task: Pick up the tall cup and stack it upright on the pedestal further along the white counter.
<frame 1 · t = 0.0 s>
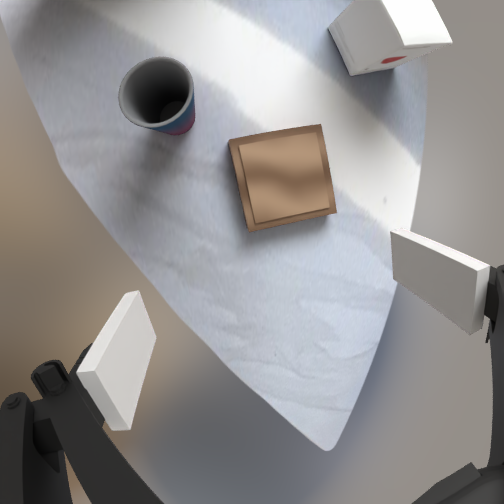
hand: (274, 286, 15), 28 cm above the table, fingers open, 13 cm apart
pedestal: (281, 175, 41), on the table
supplement box: (362, 47, 37), on the table
cup: (176, 117, 38), on the table
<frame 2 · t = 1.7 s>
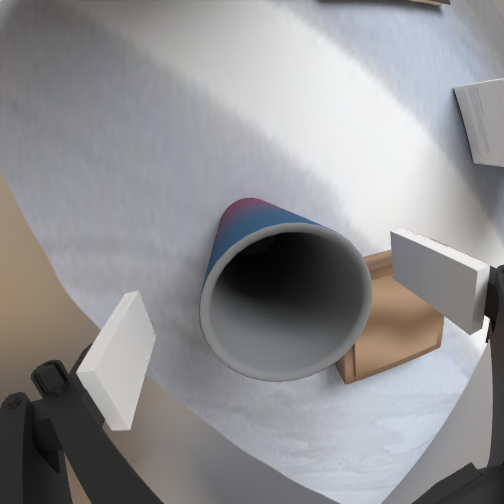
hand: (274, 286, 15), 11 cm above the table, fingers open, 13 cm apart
pedestal: (385, 306, 29), on the table
supplement box: (484, 120, 25), on the table
cup: (249, 227, 26), on the table
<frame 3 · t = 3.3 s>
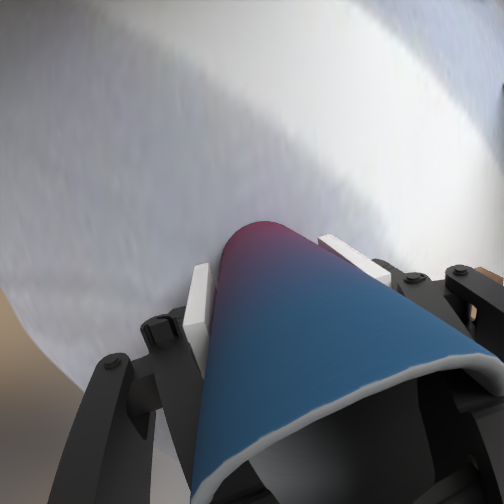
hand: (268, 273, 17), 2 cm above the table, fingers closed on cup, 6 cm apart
cup: (263, 261, 19), on the table, touching gripper
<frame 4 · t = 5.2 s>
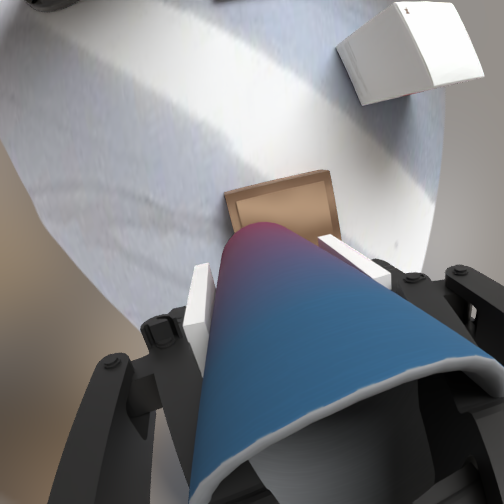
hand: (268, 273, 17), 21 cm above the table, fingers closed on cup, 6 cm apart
pedestal: (284, 228, 38), on the table
supplement box: (374, 70, 33), on the table
cup: (262, 262, 19), point 19 cm above the table, touching gripper
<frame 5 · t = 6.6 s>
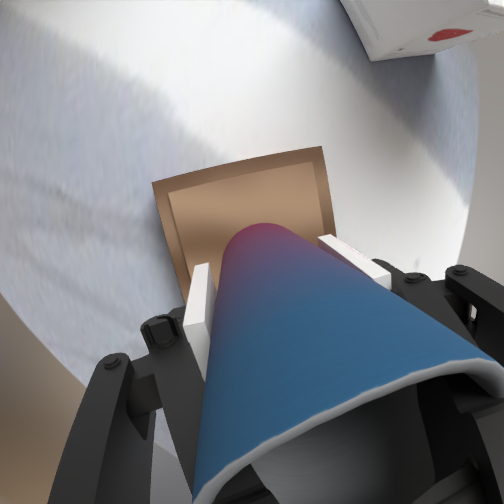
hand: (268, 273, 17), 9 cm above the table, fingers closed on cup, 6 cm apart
pedestal: (251, 236, 25), on the table
supplement box: (386, 19, 21), on the table
cup: (263, 263, 19), point 6 cm above the table, touching gripper
when the fingers open (6 cm above the table, at t = 7.4 s): cup stays where it is, resting on pedestal.
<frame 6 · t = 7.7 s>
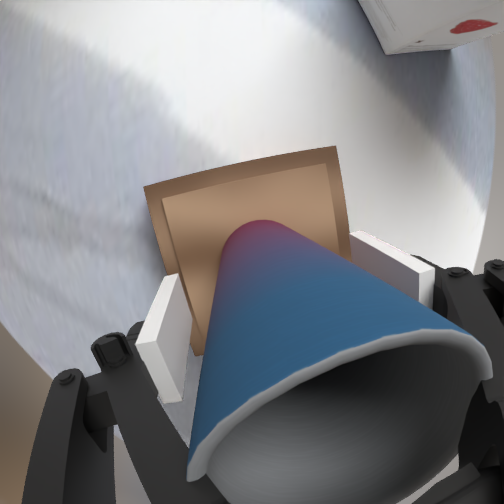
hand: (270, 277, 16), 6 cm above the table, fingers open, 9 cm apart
pedestal: (255, 246, 22), on the table
supplement box: (400, 11, 18), on the table
cup: (261, 258, 19), point 3 cm above the table, touching pedestal
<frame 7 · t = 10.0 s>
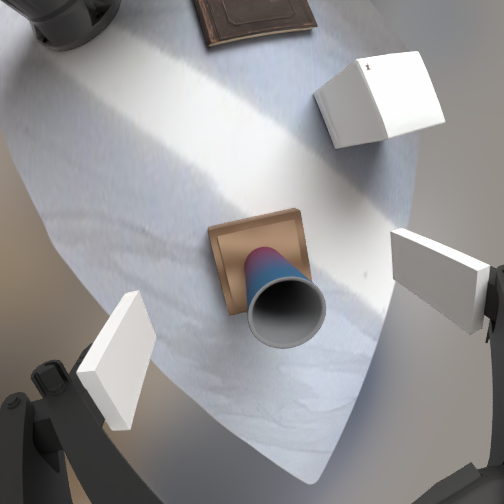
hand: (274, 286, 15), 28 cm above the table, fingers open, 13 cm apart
pedestal: (260, 258, 43), on the table
supplement box: (349, 114, 40), on the table
cup: (263, 265, 40), point 3 cm above the table, touching pedestal
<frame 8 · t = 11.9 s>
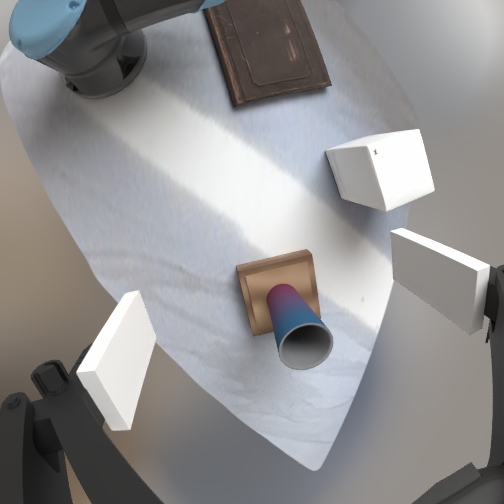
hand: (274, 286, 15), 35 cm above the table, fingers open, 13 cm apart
pedestal: (278, 290, 53), on the table
hardcover book: (262, 37, 42), on the table
supplement box: (355, 167, 49), on the table
cup: (281, 297, 50), point 3 cm above the table, touching pedestal
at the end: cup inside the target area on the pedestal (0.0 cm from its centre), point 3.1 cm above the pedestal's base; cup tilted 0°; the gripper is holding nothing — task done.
